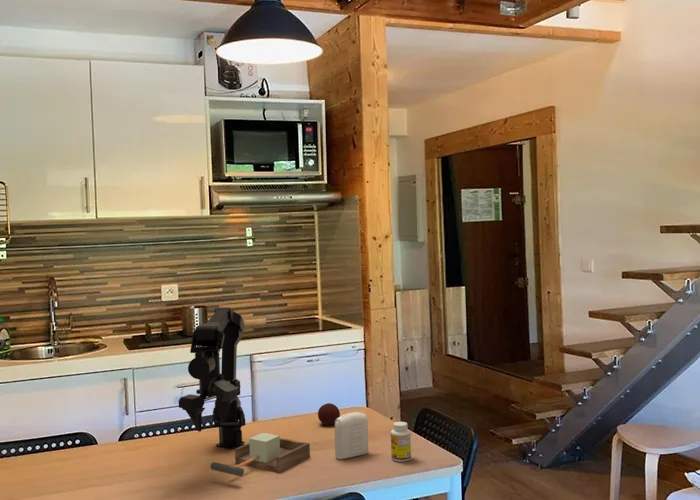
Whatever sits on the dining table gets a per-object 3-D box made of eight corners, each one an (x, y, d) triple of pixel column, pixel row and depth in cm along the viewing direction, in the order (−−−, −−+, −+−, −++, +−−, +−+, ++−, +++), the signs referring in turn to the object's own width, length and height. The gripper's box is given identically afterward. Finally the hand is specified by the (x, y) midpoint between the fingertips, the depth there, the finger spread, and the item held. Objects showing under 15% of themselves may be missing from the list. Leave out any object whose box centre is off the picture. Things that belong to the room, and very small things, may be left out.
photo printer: (362, 449, 201) (361, 408, 201) (370, 453, 198) (369, 411, 197) (333, 457, 196) (331, 414, 195) (341, 461, 192) (339, 418, 192)
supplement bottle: (390, 456, 195) (389, 421, 195) (409, 455, 196) (408, 420, 195) (392, 462, 190) (391, 426, 189) (412, 462, 190) (411, 426, 190)
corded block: (210, 474, 180) (209, 451, 180) (258, 452, 197) (257, 431, 197) (239, 480, 175) (238, 457, 175) (285, 457, 192) (285, 436, 191)
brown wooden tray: (235, 462, 193) (235, 449, 193) (267, 448, 205) (266, 435, 205) (279, 472, 184) (279, 458, 184) (309, 457, 196) (309, 443, 196)
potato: (316, 427, 224) (315, 406, 224) (320, 420, 232) (320, 400, 232) (337, 428, 223) (337, 406, 223) (342, 421, 231) (341, 400, 231)
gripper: (206, 381, 175) (208, 440, 176) (254, 367, 191) (255, 421, 191) (176, 376, 181) (178, 434, 182) (224, 363, 197) (226, 416, 197)
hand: (211, 426), depth 188 cm, fingers open, 9 cm apart
